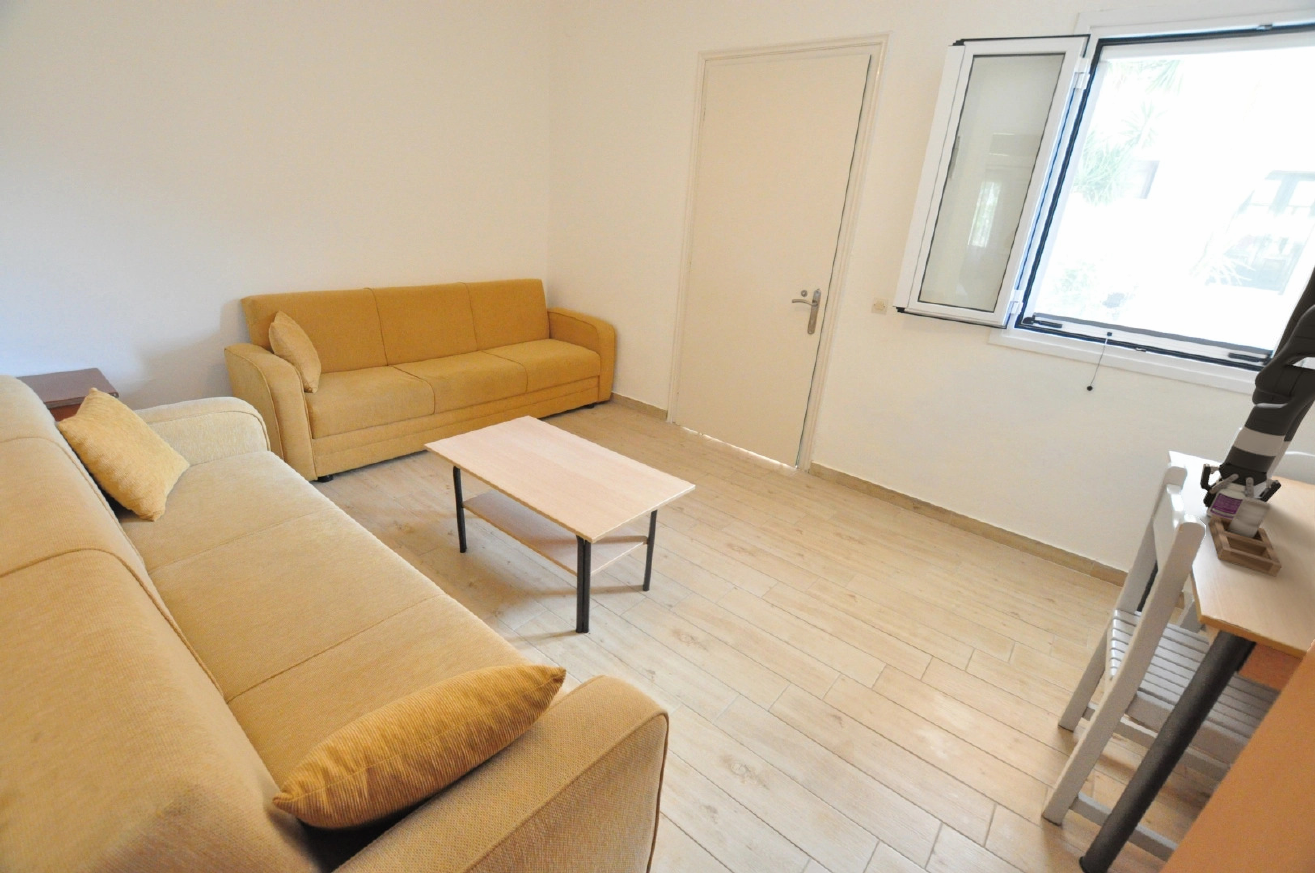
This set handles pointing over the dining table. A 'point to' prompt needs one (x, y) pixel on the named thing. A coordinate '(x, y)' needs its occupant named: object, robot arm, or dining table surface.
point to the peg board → (1245, 538)
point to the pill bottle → (1227, 501)
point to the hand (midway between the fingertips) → (1222, 510)
